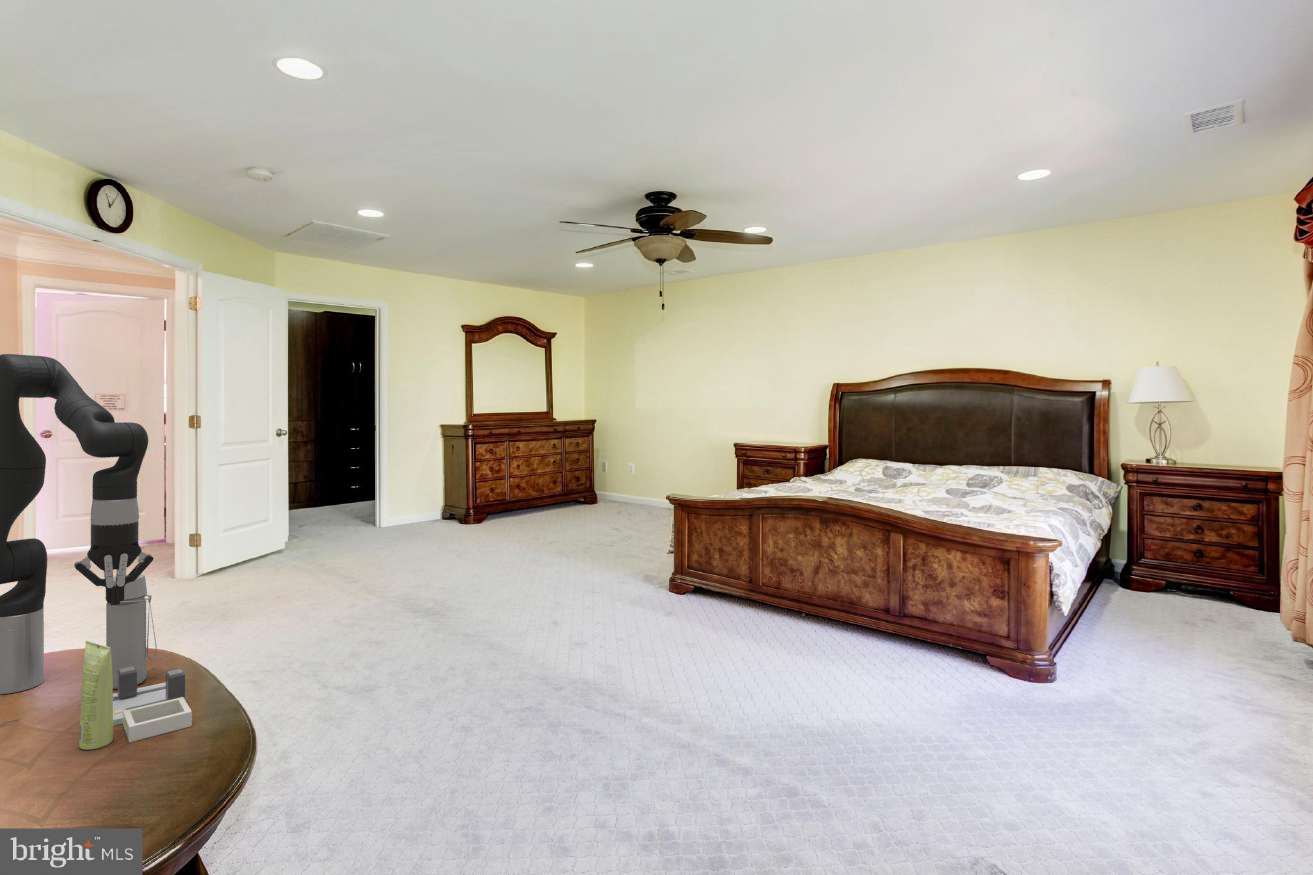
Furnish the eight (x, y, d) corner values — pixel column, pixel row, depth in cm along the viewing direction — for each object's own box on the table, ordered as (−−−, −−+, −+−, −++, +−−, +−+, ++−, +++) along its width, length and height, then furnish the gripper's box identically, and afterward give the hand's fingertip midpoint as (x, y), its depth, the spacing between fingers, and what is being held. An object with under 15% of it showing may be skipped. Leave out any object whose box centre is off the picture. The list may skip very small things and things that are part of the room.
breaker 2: (165, 696, 142) (165, 671, 142) (182, 692, 144) (182, 667, 144) (168, 701, 140) (168, 675, 140) (185, 697, 142) (185, 672, 142)
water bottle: (105, 694, 146) (105, 583, 145) (106, 681, 152) (106, 575, 151) (157, 684, 152) (157, 577, 151) (156, 673, 158) (156, 570, 157)
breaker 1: (117, 694, 143) (117, 668, 143) (134, 690, 145) (134, 665, 145) (119, 698, 141) (119, 673, 140) (136, 694, 143) (136, 669, 143)
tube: (121, 735, 129) (121, 637, 128) (110, 748, 124) (110, 646, 123) (86, 739, 127) (85, 640, 126) (73, 752, 122) (72, 649, 121)
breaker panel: (104, 700, 143) (104, 694, 143) (169, 686, 151) (169, 680, 151) (112, 726, 132) (112, 718, 132) (182, 708, 140) (182, 702, 140)
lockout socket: (122, 725, 133) (123, 710, 132) (183, 710, 140) (183, 696, 140) (129, 742, 126) (129, 727, 126) (191, 725, 133) (191, 711, 133)
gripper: (152, 514, 141) (152, 594, 141) (70, 520, 131) (70, 605, 132) (158, 520, 135) (158, 602, 136) (73, 526, 126) (73, 615, 127)
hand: (114, 604), depth 134 cm, fingers closed
